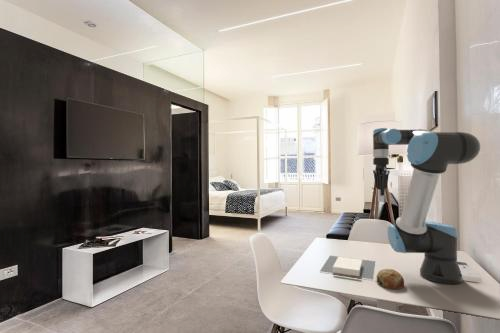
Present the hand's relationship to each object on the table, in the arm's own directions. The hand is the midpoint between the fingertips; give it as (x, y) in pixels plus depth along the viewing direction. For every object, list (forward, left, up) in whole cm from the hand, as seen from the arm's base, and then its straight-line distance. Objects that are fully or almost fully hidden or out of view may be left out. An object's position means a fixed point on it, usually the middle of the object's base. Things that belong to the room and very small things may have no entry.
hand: (381, 201), depth 152 cm
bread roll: (-36, +15, -30) cm, 49 cm away
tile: (-12, +22, -27) cm, 38 cm away
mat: (-15, +24, -29) cm, 41 cm away
